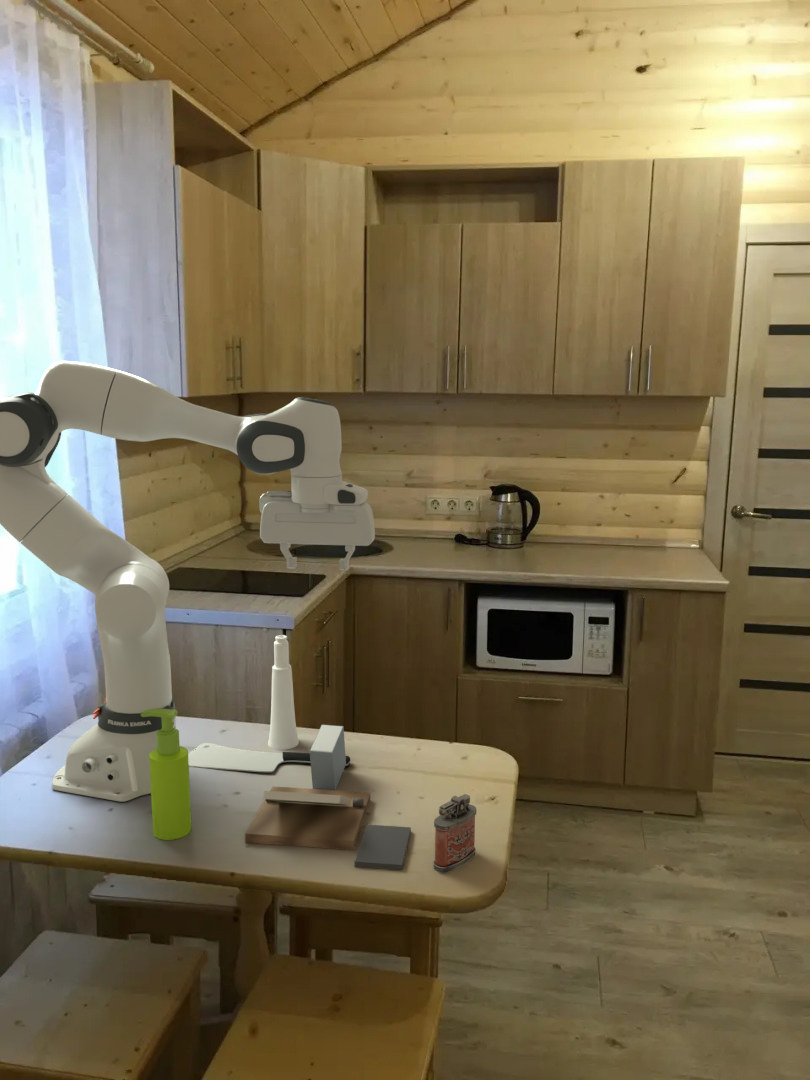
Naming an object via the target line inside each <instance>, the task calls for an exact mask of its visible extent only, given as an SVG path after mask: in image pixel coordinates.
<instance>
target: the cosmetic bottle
mask: <svg viewBox="0 0 810 1080" xmlns="http://www.w3.org/2000/svg"><path fill="white" fill-rule="evenodd" d="M274 638H275V640H274V642H273V655H274V657H273V658H274V664H273V665H272V666H271V669H272V670H271V703H270V707H271V708H270V727H269V736H268V741H267V745H268V746H267V747H269V748H271V749H273V750H279V751H280V750H281V751H283V750H289V749H290V750H291V749H293V748H296V747H297V746H299V743H300V740H299V737H298V730H297V723H296V714H295V713H296V711H295V702H294V701H295V699H294V698H295V697H294V687H293V685H294V684H293V682H294V681H293V670H292V664H290V650H289V649H290V647H289V641H288V640H287V639H288V636H287V635H285V634H280V635H276V636H275V637H274Z"/></svg>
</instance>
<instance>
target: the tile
mask: <svg viewBox="0 0 810 1080" xmlns="http://www.w3.org/2000/svg"><path fill="white" fill-rule="evenodd" d="M263 799H264V800H265V799H268V800H274V801H280V802H294V803H309V804H325V805H340V806H350V802H351V798H348V797H344V796H341V795H325V794H310V793H294V792H278V791H270V790H264V791H263Z"/></svg>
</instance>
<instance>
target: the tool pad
mask: <svg viewBox="0 0 810 1080" xmlns="http://www.w3.org/2000/svg"><path fill="white" fill-rule="evenodd" d="M411 830H412V828H411V827H410V826H399V825H398V826H396V825H395V826H394V825H380V824H369V823H368V824H366V825H365V829H364V833H363V836H362V839H361V842H360V844H359V846H358V847H359V848H358V851H357V852H356V856H355V859H354V867H355V868H357V867H359V868H371V869H382V870H383V869H385V870H397V871H402V870H403V867H404V862H405V857H406V854H407V851H408V850H407V849H408V846H409V842H410V837H411V833H412V831H411Z"/></svg>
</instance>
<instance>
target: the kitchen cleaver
mask: <svg viewBox="0 0 810 1080" xmlns="http://www.w3.org/2000/svg"><path fill="white" fill-rule="evenodd" d="M195 749H196V750H195ZM193 750H194V751H193ZM188 760H189V768H198V769H199V768H200V769H211V770H212V769H214V770H229V771H239V772H240V771H241V772H252V773H253V772H255V773H273V772H275V771H276V769H277V767H278V766H279V765H280V764H282V763H283V764H297V765H298V764H299V765H300V764H301V765H311V762H310V752H297V751H296V752H294V751H283V752H269V751H258V750H248V749H242V748H234V747H230V746H224V745H219V744H216V743H212V742H211V743H210V742H202V743H200V744H199V745H197V748H196V747H195V748H193V749H192V750H191V751H190V752H188ZM350 764H351V757H350V756H349V755H346V765H345V768H344V769H346V768H349V767H350Z"/></svg>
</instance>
